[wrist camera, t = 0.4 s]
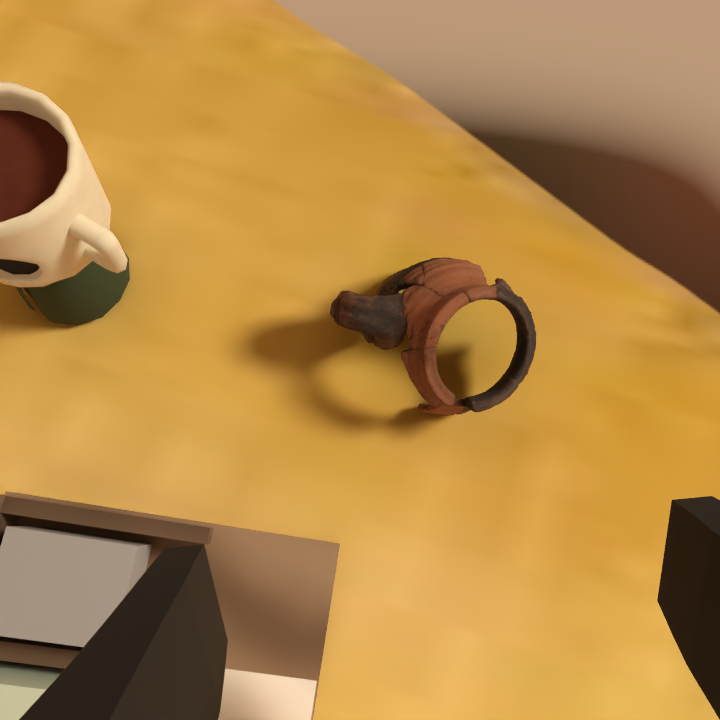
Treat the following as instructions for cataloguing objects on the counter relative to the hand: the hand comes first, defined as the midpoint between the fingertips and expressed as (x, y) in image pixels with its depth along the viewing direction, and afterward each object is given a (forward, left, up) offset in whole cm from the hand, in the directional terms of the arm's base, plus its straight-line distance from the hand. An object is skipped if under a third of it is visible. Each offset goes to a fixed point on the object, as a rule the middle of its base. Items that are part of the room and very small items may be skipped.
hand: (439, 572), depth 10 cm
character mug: (+13, +16, -27) cm, 34 cm away
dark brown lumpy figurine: (+13, -5, -27) cm, 31 cm away
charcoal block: (-4, +11, -26) cm, 29 cm away
